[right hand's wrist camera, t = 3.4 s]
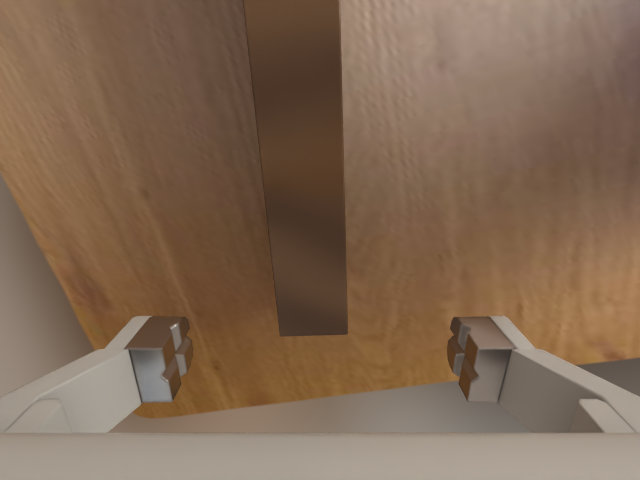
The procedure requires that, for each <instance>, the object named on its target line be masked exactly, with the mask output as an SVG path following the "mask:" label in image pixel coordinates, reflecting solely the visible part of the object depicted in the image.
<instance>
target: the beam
mask: <svg viewBox="0 0 640 480" xmlns="http://www.w3.org/2000/svg"><path fill="white" fill-rule="evenodd" d="M243 6H244V15H245V24H246V33H247V42H248V51H249V61H250V70H251V79H252V88H253V97H254V106H255V115H256V124H257V133H258V142H259V151H260V160H261V169H262V178H263V187H264V196H265V205H266V214H267V223H268V232H269V241H270V250H271V259H272V268H273V277H274V286H275V295H276V304H277V313H278V322H279V331H280V336H311V335H346V334H348V314H347V272H346V231H345V189H344V148H343V106H342V65H341V23H340V0H243Z"/></svg>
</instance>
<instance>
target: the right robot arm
mask: <svg viewBox="0 0 640 480" xmlns="http://www.w3.org/2000/svg"><path fill="white" fill-rule="evenodd" d="M189 329H190V327H189V322H188V319H187V318H186V317H180V316H135V317H133V318H132V319H131V320H130V321H129V322H128V323H127V324H126V325H125V327H124V328H123V329H122V330H121V331H120V332H119V333H118V334H117V335H116V336H115V337H114V339H113V340H112V341H111V342H110V343H109V344H108V345H107V346H106V347H105V348H104V349H98V350H96V351H94V352H92V353H90V354H88V355H86V356H83V357H81V358H79V359H77V360H75V361H73V362H71V363H69V364H67V365H65V366H63V367H61V368H59V369H57V370H55V371H53V372H51V373H49V374H47V375H44V376H42V377H40V378H38V379H36V380H34V381H32V382H30V383H28V384H26V385H24V386H22V387H20V388H18V389H16V390H14V391H12V392H10V393H7V394H5V395H4V396H1V397H0V480H640V397H638V396H636V395H634V394H632V393H630V392H628V391H626V390H624V389H622V388H620V387H618V386H616V385H614V384H612V383H610V382H608V381H606V380H603V379H602V378H599V377H597V376H595V375H593V374H591V373H589V372H587V371H585V370H583V369H581V368H579V367H577V366H575V365H573V364H571V363H569V362H567V361H565V360H563V359H561V358H559V357H556V356H554V355H552V354H550V353H548V352H546V351H544V350H542V349H536V348H535V347H534V346H533V345H532V344H531V343H530V342H529V341H528V340H527V339H526V337H525V336H524V335H523V334H522V333H521V332H520V331H519V330H518V329H517V328H516V327H515V325H514V324H513V323H512V322H511V321H510V320H509V319H508V318H507V317H505V316H485V317H453V319H452V321H451V327H450V329H451V331H452V333H453V334H454V335H453V336H452V337H451V339H450V340H449V341H448V346H447V356H448V362H449V365H450V367H451V370H452V372H453V373H454V374H456V375H457V376H459V377H460V379H459V385H460V387H461V389H462V391H463V393H464V395H465V397H466V399H467V401H468V402H494V403H498V404H499V405H500V406H501V407H502V408H504V409H505V410H506V411H507V412H509V413H510V414H511V415H512V416H513V417H515V418H516V419H517V420H518V421H519V422H521V423H522V424H523V425H524V426H525V427H527V428H528V429H529V430H530V431H532V432H533V433H107V432H108V431H110V430H111V429H112V428H113V427H115V426H116V425H117V424H118V423H119V422H121V421H122V420H123V419H124V418H126V417H127V416H128V415H129V414H130V413H132V412H133V411H134V410H135V409H136V408H138V407H139V406H140V405H141V404H142V403H147V402H172V401H173V399H174V397H175V395H176V393H177V391H178V389H179V387H180V385H181V379H180V377H181V376H183V375H184V374H186V373H187V372H188V370H189V367H190V365H191V361H192V357H193V345H192V341H191V340H190V339H189V337H188V336H187V335H186V334H187V333H188V331H189Z"/></svg>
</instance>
